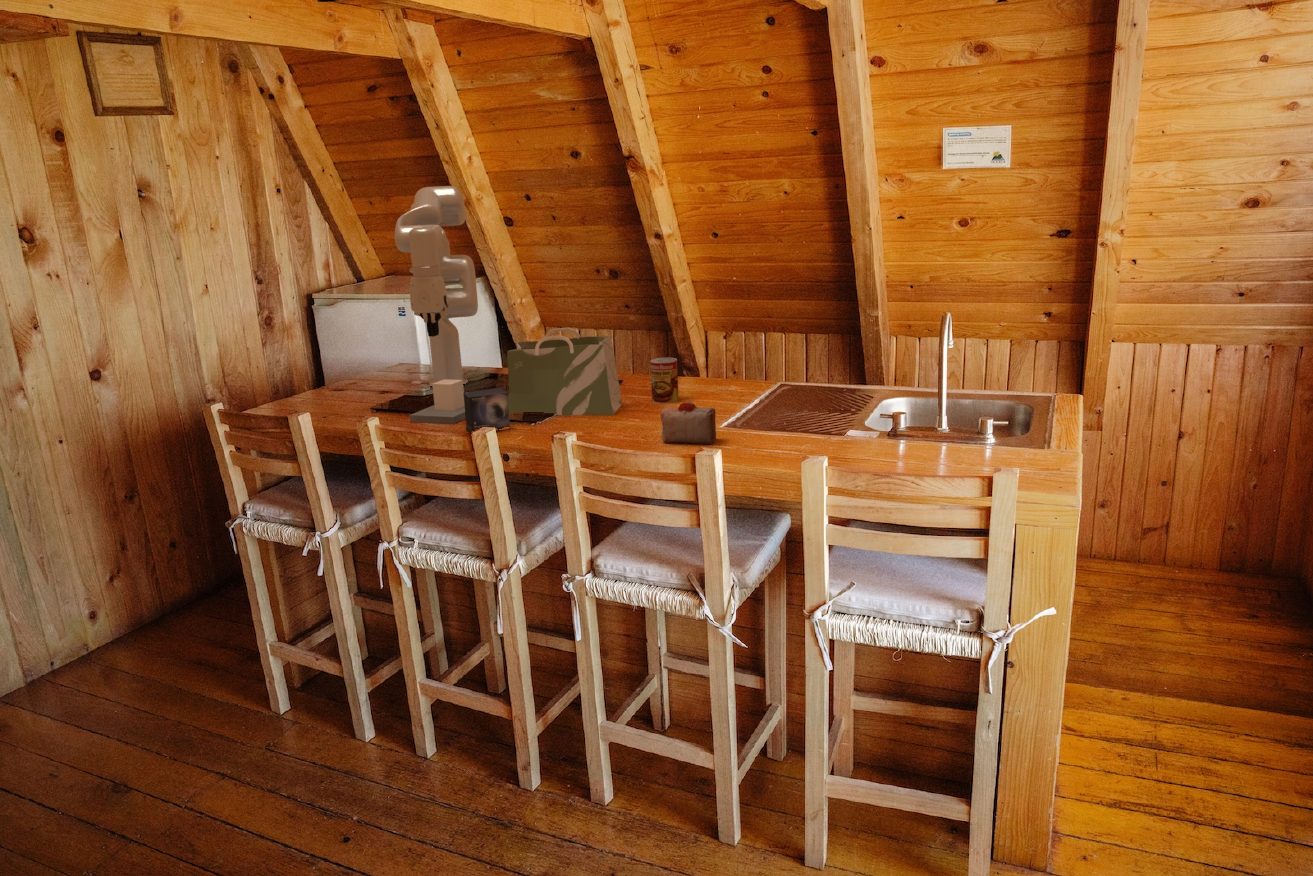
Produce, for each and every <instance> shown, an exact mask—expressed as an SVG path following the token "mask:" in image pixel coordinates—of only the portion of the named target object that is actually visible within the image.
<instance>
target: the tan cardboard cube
mask: <svg viewBox="0 0 1313 876" xmlns="http://www.w3.org/2000/svg"><path fill="white" fill-rule="evenodd" d="M432 386H433V387H432V394H433V402H434V403H433V405H435V410H449V411H454V410H457V409H459V408H461V407H464V406H465V405H464V395H463V393H465V388H464V385H463V380H448V379H444V380H441V381H438V382H436V383H433V384H432Z"/></svg>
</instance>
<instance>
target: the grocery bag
mask: <svg viewBox="0 0 1313 876" xmlns="http://www.w3.org/2000/svg"><path fill="white" fill-rule="evenodd" d="M557 332H568V333H569V332H570V333H573V334H574V335H575V336H576V337H572V338H569V337H567V336H564V335H551V334H554V333H557ZM550 335H551V336H550ZM613 347H614V346H613V342H612V338H611V335H609V336H608V335H602V336H601V335H600V336H582V337H581V335H580V333H579V332H578V331H577V330H576V329H573V328H571V327H562V328H552V329H550V330H549V331H547V332H546V334H545V336H544V337H542V338H540V339H539V340H534V341H533V340H532V341H522V342H521V341H519V342H518V341H517V342H516V348H515V349H509V350H507V352H506V353H507V355H506V356H507V370H508V371H507V372H508V373H507V374H508V389H509V390H508V391H509V393H508V409H509V411H511V412H544V413H554V414H557V415H561V416H560V417H562V416H564V417H565V416H614V415H615V414H616V412H617V411H618V409H619V408H621V406H622V405H623V402H622V395H621V389H620V382H619V376H618V370H617V364H616V363H617V362H616V358H615V357H616V356H615V352H614V348H613Z"/></svg>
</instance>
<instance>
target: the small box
mask: <svg viewBox="0 0 1313 876" xmlns="http://www.w3.org/2000/svg"><path fill="white" fill-rule="evenodd" d="M463 395H464V405H465V418H466V419H465V430H466V431H468V432H469V434H471V432H472V431H475V430H476V429H479V428H482V427H495V428H497V429H498V431H497V432H500V431H499V429H502V428H504V427H510V428H511V425H510V424H511V422H510V415H509V409H508V398H509V393H508V391H506V390H504V389H503V388H502V387H496V388H489V389H482V390H481V389H480V390H472V391H467V392H465V391H464V393H463Z"/></svg>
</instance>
